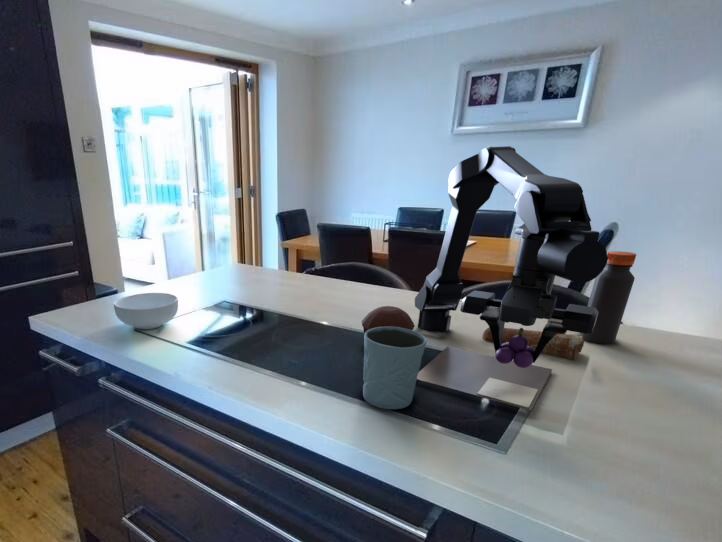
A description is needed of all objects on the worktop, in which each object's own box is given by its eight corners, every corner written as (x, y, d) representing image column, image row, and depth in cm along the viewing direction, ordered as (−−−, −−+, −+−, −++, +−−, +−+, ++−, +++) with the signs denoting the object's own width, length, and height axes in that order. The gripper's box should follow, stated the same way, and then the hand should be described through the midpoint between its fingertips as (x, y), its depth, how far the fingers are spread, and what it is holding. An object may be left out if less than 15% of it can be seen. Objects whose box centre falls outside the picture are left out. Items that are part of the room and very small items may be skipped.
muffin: (371, 338, 107) (374, 298, 103) (417, 347, 101) (423, 305, 97) (351, 354, 98) (354, 311, 94) (400, 365, 92) (405, 320, 88)
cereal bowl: (192, 320, 122) (190, 296, 120) (149, 339, 110) (145, 312, 107) (148, 312, 131) (145, 288, 128) (103, 328, 118) (99, 303, 115)
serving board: (411, 383, 84) (412, 376, 84) (446, 351, 98) (447, 345, 98) (529, 416, 72) (531, 409, 72) (550, 374, 86) (552, 368, 86)
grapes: (492, 363, 75) (499, 329, 73) (500, 352, 79) (507, 320, 77) (529, 372, 72) (537, 336, 69) (535, 360, 76) (544, 326, 73)
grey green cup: (355, 385, 84) (359, 326, 80) (408, 384, 84) (416, 325, 79) (365, 412, 75) (371, 347, 70) (425, 412, 75) (435, 346, 70)
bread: (576, 366, 89) (583, 341, 87) (478, 344, 102) (482, 321, 99) (582, 357, 94) (589, 332, 91) (487, 337, 106) (491, 314, 104)
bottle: (608, 335, 105) (634, 250, 97) (619, 345, 99) (648, 256, 91) (575, 332, 107) (598, 249, 99) (584, 342, 101) (609, 255, 93)
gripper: (457, 269, 69) (443, 359, 75) (604, 286, 58) (573, 391, 64) (477, 258, 77) (463, 340, 83) (610, 271, 66) (582, 365, 72)
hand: (514, 358), depth 75 cm, fingers closed on grapes, 5 cm apart
